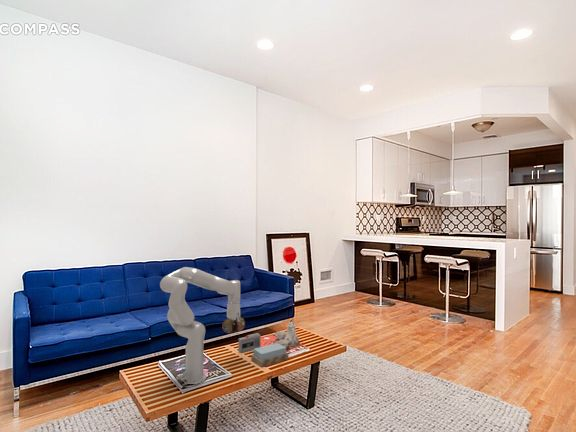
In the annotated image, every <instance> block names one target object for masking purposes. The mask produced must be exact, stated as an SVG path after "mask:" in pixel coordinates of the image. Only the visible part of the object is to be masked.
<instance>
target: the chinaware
mask: <svg viewBox="0 0 576 432" xmlns="http://www.w3.org/2000/svg"><path fill="white" fill-rule="evenodd" d="M296 325H297V324H294V323H293V321H290V322H288V324H286V329H287V331H285V330H281V331H276V332H275V335H276V337H277V339H278V340H277V341H276V343H279V344H280V345H282V346H284V347H286V349H287V348H288V347H297V346H298V343H299V341H300V339H299V337H298V335H297V332H296Z"/></svg>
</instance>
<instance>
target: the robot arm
mask: <svg viewBox="0 0 576 432" xmlns="http://www.w3.org/2000/svg"><path fill="white" fill-rule="evenodd" d="M188 284H191V285H194V286H196V287H200V288H202V289H205V290H209V291H215V292H217V293H218V294H220V295H226V296H227V307H226V317H227V319H231V320H233V327H232V331H233V333H235V332H234V331H237V328H238V323H239V322H240V320H239V319H240V317H241V281H240V280H239V279H238V280H237V279H234V280H228V279H225V278H221V277H219V276H217V275H213V274H211V273H208V272H206V271H203V270H201V269H198V268H195V267H188V266H183V267H181V268H179V269H177V270H175V271H173V272H171V273H169V274H167V275H165V276H163V278H162V279H161V280H160V282H159V287H160V290H162V292H165V293H169V294H170V295H169V299H168V308H169V309H168V310H167V314H166V316H167V317H166V318H167V320H168V322H169V324H170V325H171V327H172V329H174V331H175V333H176V334H177V335H178V336H180V337H183V338H186V339H188V340H187V343H186V344H185V371H183V373H182V374H181V375H177V376H175V377H176V381H179V380H180V381H181V382H182V383H183V382H184V383H183V384H185V383H186V384H185V385H187V384H196V385H199V384H198V383H200V384H202V383H204V382H205V381H206V380H207V375H206V374H205V373H204V345H205V344H204V341H205V338H206V337H205V335H206V326H205V325H204V324H203V323H201V322H199V321H197V320H195V314H194V312H193V311H192V309H191V308H190V306H189V305H188V302H187V301H186V299H185V298H186V293H187V290H188ZM237 332H238V331H237ZM203 381H204V382H203ZM201 382H202V383H201Z"/></svg>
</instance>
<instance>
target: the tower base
mask: <svg viewBox="0 0 576 432" xmlns="http://www.w3.org/2000/svg"><path fill="white" fill-rule="evenodd" d="M289 355H290V354H289V353H287V352H286V354H284V355H281V356H277V357H274V358H270V359H267V360H263V361H261V360H260V359H258V358H257V357H255V356H254V355H253V354H251V355H250V356H251V358H250V360H251V362H253V363H254V364H255V365H257V366H259V367H260V368H264V367H268V366H270V365H274V364H279V363H282V362H284V361H288V360H289V359H290V358H289Z"/></svg>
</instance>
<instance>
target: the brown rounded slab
mask: <svg viewBox="0 0 576 432" xmlns="http://www.w3.org/2000/svg"><path fill="white" fill-rule="evenodd" d="M239 320H240V322H239V323H238V328H237V331H234V332H233V331H232V327H233V320H231V319H229V318H227V319H225V320H224V321H223V322H222V326H221V328H222V330H223V332H225V333H226V334H233V333H235V332H241V331H243V330H244V329H245V327H246V320H245V319H244V318H243V317H241V316H240V319H239Z"/></svg>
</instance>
